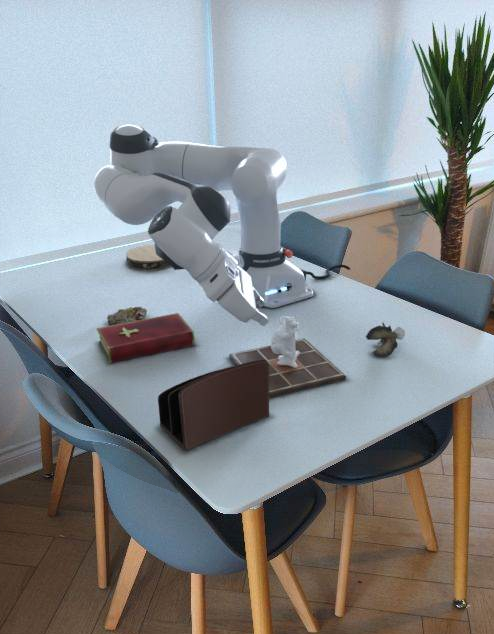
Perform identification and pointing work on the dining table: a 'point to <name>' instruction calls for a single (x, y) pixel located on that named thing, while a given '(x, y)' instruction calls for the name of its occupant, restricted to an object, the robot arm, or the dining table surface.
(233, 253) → the donut
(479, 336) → the dining table surface
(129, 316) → the mineral rock
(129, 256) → the tambourine
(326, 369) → the board
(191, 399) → the letter holder
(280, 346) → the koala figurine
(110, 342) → the hardcover book
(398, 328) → the eagle figurine
